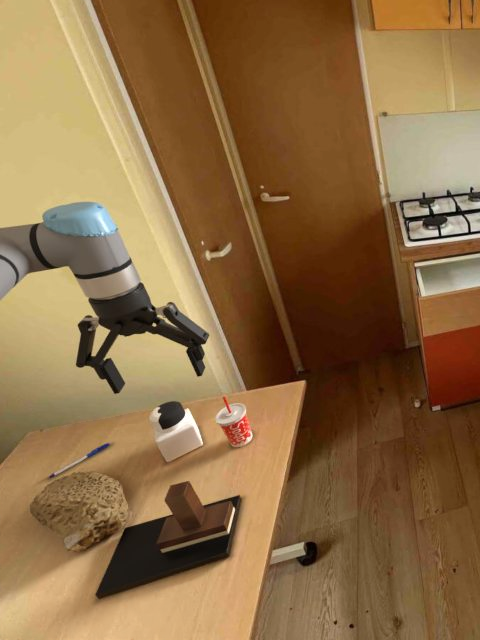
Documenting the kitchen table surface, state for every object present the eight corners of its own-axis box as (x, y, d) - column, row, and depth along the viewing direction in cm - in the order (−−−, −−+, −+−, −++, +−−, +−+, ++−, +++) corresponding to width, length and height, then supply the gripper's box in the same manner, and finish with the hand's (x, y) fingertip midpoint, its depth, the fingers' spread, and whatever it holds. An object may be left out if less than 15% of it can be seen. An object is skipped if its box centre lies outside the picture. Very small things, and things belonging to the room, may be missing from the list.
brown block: (162, 553, 79) (134, 512, 73) (172, 526, 83) (146, 486, 77) (228, 533, 82) (207, 493, 76) (235, 509, 86) (215, 469, 80)
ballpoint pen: (109, 443, 101) (107, 441, 101) (110, 445, 101) (108, 442, 100) (49, 477, 94) (47, 474, 93) (51, 479, 93) (48, 476, 93)
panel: (98, 599, 73) (94, 595, 73) (127, 532, 83) (124, 527, 83) (229, 557, 79) (226, 552, 79) (241, 499, 89) (239, 494, 89)
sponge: (144, 521, 86) (114, 454, 96) (121, 509, 81) (91, 440, 90) (64, 581, 79) (39, 502, 88) (33, 572, 74) (10, 489, 83)
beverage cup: (225, 453, 99) (205, 411, 93) (229, 434, 104) (210, 392, 98) (255, 444, 101) (237, 402, 95) (257, 425, 106) (240, 384, 100)
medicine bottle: (198, 427, 106) (180, 392, 100) (203, 445, 101) (185, 409, 96) (163, 444, 101) (142, 408, 96) (167, 463, 97) (146, 427, 91)
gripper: (203, 268, 81) (237, 354, 90) (37, 291, 73) (93, 382, 83) (191, 287, 74) (229, 377, 84) (8, 315, 67) (73, 410, 77)
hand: (161, 380), depth 84 cm, fingers open, 13 cm apart
